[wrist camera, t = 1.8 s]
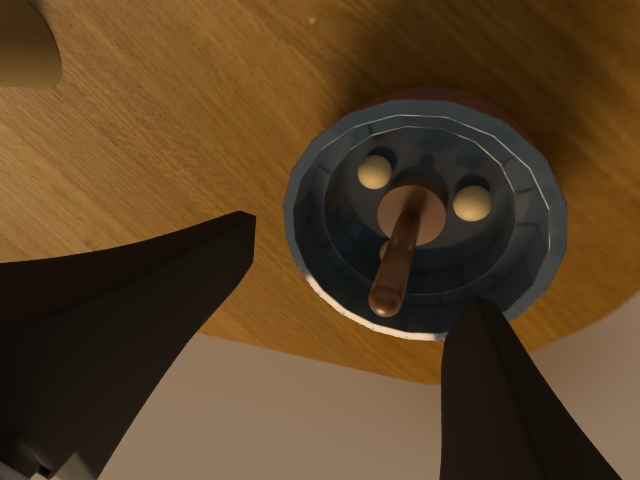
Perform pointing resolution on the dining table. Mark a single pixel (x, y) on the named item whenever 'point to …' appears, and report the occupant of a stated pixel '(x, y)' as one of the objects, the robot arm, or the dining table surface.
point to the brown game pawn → (26, 48)
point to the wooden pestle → (405, 235)
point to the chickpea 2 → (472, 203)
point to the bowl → (458, 235)
